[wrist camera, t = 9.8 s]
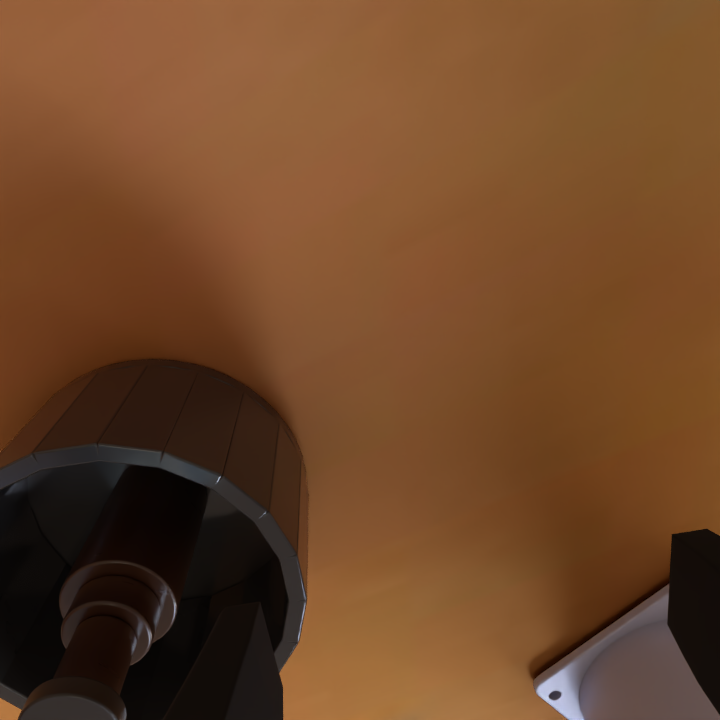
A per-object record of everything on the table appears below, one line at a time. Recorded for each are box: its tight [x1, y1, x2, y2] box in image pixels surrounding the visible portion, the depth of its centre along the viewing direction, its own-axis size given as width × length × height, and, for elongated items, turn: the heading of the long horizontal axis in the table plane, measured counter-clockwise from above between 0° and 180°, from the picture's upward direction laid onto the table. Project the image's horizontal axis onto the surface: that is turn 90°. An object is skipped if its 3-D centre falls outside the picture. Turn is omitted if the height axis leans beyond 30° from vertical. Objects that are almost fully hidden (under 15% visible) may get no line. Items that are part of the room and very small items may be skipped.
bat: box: [18, 465, 207, 720], centre depth 17 cm, size 3×3×8 cm
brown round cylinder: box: [0, 359, 309, 720], centre depth 19 cm, size 10×10×6 cm
